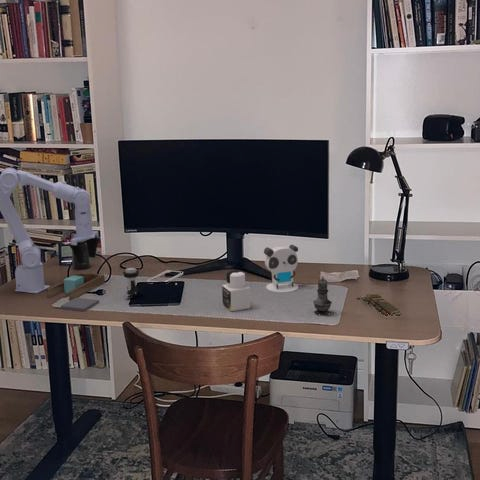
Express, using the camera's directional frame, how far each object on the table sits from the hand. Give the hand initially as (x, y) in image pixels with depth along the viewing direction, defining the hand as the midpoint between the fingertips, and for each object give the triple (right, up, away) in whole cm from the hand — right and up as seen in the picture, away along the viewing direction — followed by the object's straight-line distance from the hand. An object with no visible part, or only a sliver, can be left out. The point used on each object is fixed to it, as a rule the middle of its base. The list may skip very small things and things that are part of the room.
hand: (86, 259), depth 242 cm
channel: (-3, -11, -4) cm, 12 cm away
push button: (+18, -13, -13) cm, 26 cm away
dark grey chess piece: (+82, -16, -31) cm, 89 cm away
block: (-3, -11, -5) cm, 13 cm away
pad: (+3, -15, -21) cm, 25 cm away
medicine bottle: (+55, -15, -24) cm, 62 cm away
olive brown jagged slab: (+101, -15, -27) cm, 106 cm away
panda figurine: (+71, -10, -5) cm, 72 cm away
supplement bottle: (-8, -4, +25) cm, 26 cm away
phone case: (+28, -8, +9) cm, 30 cm away
